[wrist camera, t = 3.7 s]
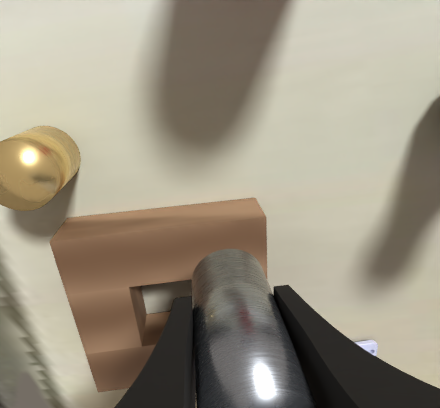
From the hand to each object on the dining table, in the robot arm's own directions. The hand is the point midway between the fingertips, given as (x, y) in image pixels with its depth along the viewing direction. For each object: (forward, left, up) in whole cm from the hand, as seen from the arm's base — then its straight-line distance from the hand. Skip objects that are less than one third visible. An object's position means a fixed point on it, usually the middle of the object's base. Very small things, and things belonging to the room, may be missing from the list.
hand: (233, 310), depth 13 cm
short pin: (+5, +9, -9) cm, 14 cm away
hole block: (-5, +3, -9) cm, 11 cm away
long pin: (0, 0, -2) cm, 2 cm away
